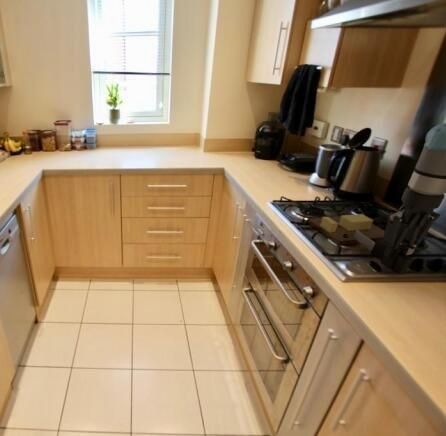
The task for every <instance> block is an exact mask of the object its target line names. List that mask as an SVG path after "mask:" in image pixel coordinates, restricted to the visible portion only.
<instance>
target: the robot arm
mask: <svg viewBox="0 0 446 436" xmlns="http://www.w3.org/2000/svg"><path fill="white" fill-rule="evenodd" d="M445 194H446V122H443V123H439V124H436V125H435V126H434V127H432V128H431V129H430V130H429V131H428V132H427V134H426V135H425V142H424V144H423V148H422V151H421V153H420V156H419V158H418V160H417V162H416V165H415V167H414V170H413V172H412V174H411V177H410V179H409V181H408V182H407V187H405V189H404V191H403V194H402V196H401V201H402V205H401V206H400V207H399V208H398V210H397V212H395V213H392V212H389V213H388V214H387V216H386V217H387V222H386V226H385V229H384V231H385V233H384V236H383V240H382V243H383V244H385V245H386V246H387V248H386V250H385V253H384V257H383V259H382V261H381V260H380V264H381V265H382V266H384V267H386V268H387V269H390V270H392V269H391V267H392V265H393V263H394V261H395V259H396V257H397V255H398V253H399V251H401V252H402V253H404V254H405V255H406V254H407V252H408V250H409V248H410V249H412V250H413V249H415V250H416V248H415V247H414V246H413V245H416V247H417V246H419V245H420V244H421V242H422V241H423V239H424V238H425V237H426V236H427V233H428V231H430V229H431V227H432V226H433V224H434V223H435V222H436V221H437V220H438V219H439V218H440V217H441V214H440V213H438V212H437V211H435V210H437V209H439V208H440V206H441V204H442V202H443V200H444V198H445V196H446V195H445ZM415 239H416V240H415ZM401 243H402V245H401Z"/></svg>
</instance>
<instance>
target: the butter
mask: <svg viewBox="0 0 446 436" xmlns="http://www.w3.org/2000/svg"><path fill="white" fill-rule="evenodd" d="M340 216H341V218H340V221H339V225H341V226H342V227H344V228H345V229H347V230H348V231H354V230H366V229H370V228H371V225H372V224H374V219H372V218H370V217H368V216H366V215H365V214H363V213H358V214H357V213H356V214H344V215H340Z"/></svg>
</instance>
